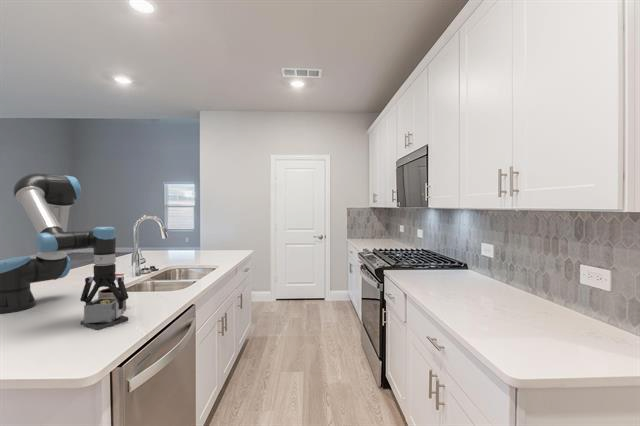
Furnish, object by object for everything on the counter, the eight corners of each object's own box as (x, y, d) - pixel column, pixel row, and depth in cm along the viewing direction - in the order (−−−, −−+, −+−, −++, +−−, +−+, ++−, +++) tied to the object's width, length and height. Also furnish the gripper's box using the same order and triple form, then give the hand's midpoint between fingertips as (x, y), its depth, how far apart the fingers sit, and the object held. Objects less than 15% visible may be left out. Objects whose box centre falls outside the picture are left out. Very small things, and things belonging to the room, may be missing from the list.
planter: (93, 315, 138) (93, 293, 137) (103, 307, 148) (103, 287, 148) (121, 313, 140) (121, 292, 140) (129, 306, 151) (129, 286, 151)
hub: (80, 324, 127) (80, 302, 127) (111, 315, 137) (111, 295, 137) (96, 330, 121) (96, 307, 121) (128, 320, 132) (128, 299, 132)
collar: (84, 322, 124) (84, 305, 124) (98, 314, 134) (98, 298, 134) (111, 322, 125) (111, 304, 125) (123, 313, 135) (123, 297, 135)
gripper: (68, 266, 124) (69, 321, 124) (129, 265, 127) (129, 319, 127) (80, 262, 131) (81, 315, 132) (137, 262, 134) (137, 313, 134)
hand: (104, 317), depth 129 cm, fingers closed on collar, 10 cm apart
